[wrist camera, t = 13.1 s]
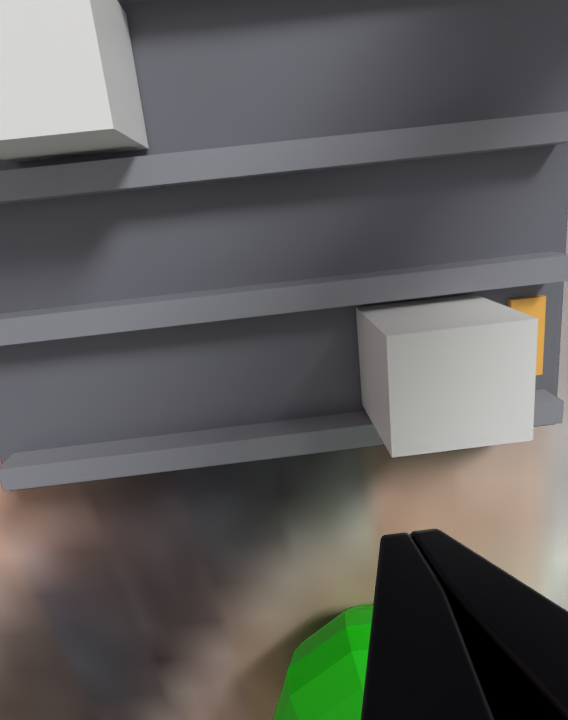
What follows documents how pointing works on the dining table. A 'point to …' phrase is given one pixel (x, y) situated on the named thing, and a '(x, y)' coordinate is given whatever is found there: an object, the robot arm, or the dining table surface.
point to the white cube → (67, 80)
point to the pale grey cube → (447, 373)
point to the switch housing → (277, 228)
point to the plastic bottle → (329, 671)
